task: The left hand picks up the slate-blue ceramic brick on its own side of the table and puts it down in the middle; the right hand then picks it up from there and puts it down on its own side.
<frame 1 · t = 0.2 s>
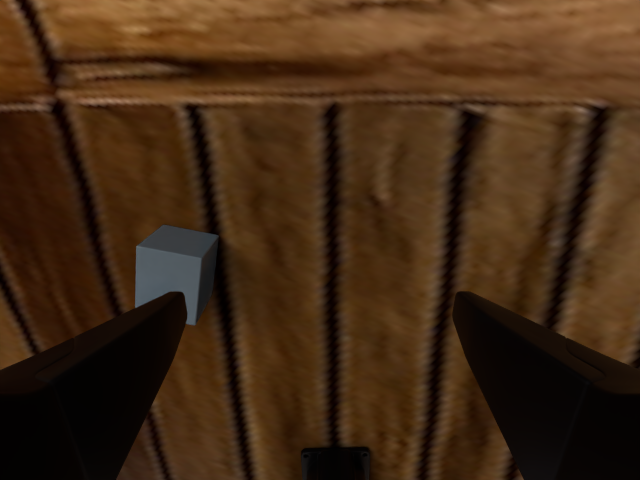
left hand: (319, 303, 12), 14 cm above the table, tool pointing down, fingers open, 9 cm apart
brick: (188, 260, 26), on the table
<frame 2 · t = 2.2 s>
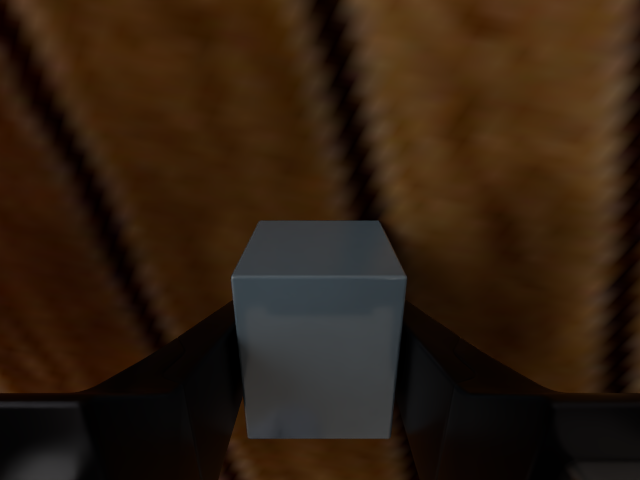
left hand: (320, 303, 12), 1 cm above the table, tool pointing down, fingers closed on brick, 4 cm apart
brick: (319, 287, 13), on the table, touching left hand
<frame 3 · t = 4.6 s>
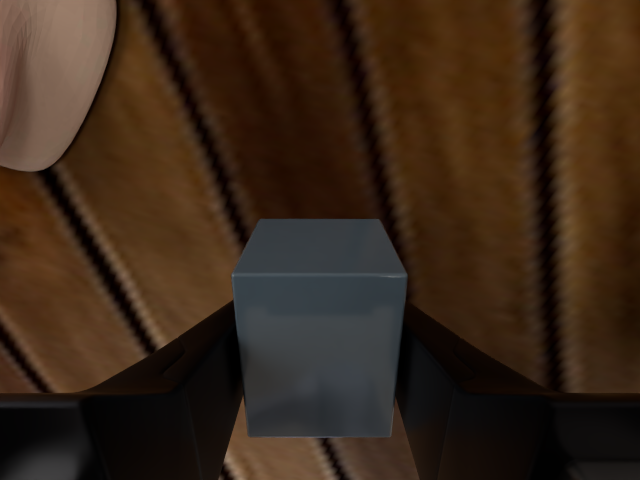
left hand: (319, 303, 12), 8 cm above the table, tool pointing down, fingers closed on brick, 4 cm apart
brick: (319, 286, 13), point 7 cm above the table, touching left hand
when the left hand's fingers open (2 cm above the table, at t = 7.1 s): brick stays where it is, on the table.
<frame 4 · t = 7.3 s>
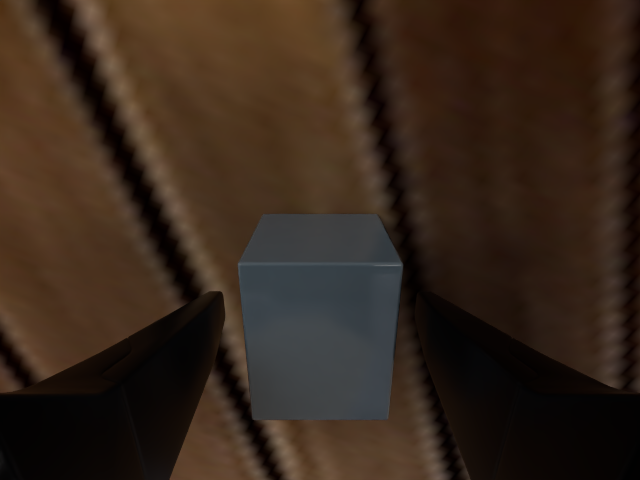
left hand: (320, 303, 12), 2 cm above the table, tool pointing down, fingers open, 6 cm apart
brick: (320, 279, 13), on the table
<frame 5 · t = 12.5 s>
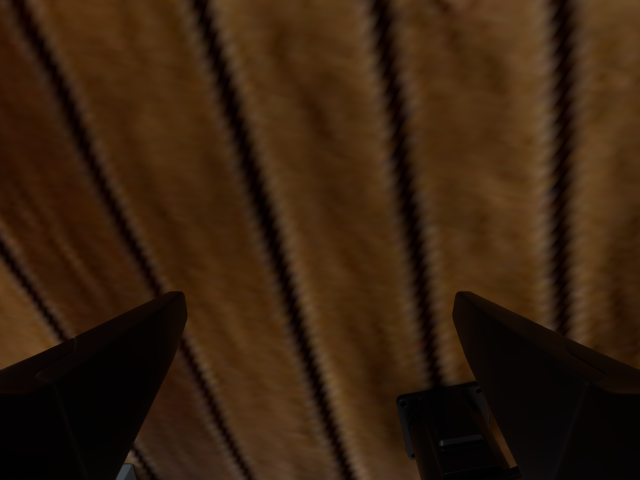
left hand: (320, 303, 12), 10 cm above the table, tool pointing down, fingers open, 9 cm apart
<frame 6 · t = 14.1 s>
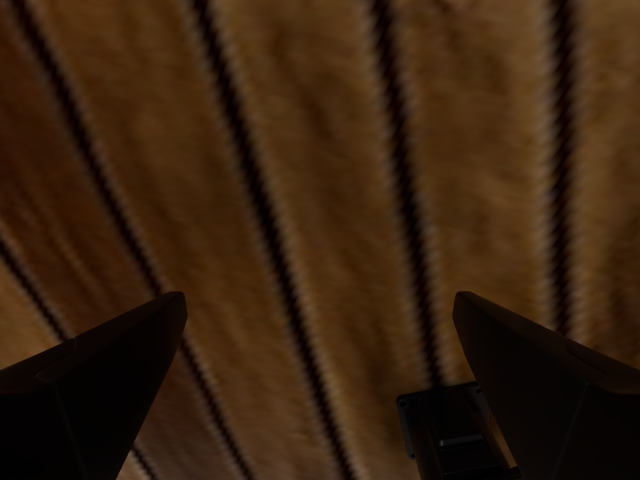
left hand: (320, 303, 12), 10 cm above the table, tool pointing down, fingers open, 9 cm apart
when the right hand's fingers open (2 cm above the table, at t = 15.7 s): brick stays where it is, on the table.
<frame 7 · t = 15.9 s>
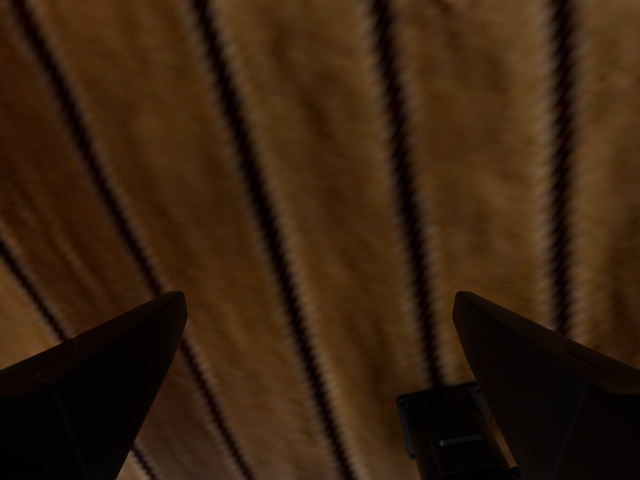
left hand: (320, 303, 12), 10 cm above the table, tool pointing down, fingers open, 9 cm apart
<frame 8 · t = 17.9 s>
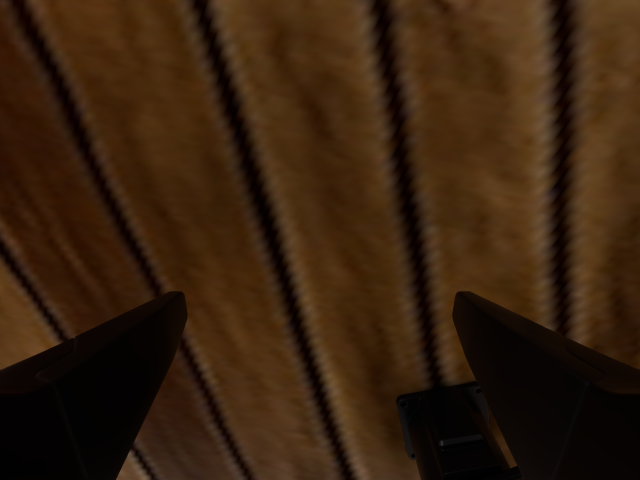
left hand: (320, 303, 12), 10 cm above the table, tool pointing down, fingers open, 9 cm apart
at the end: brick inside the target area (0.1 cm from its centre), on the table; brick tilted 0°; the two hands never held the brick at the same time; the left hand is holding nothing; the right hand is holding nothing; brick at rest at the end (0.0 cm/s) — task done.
